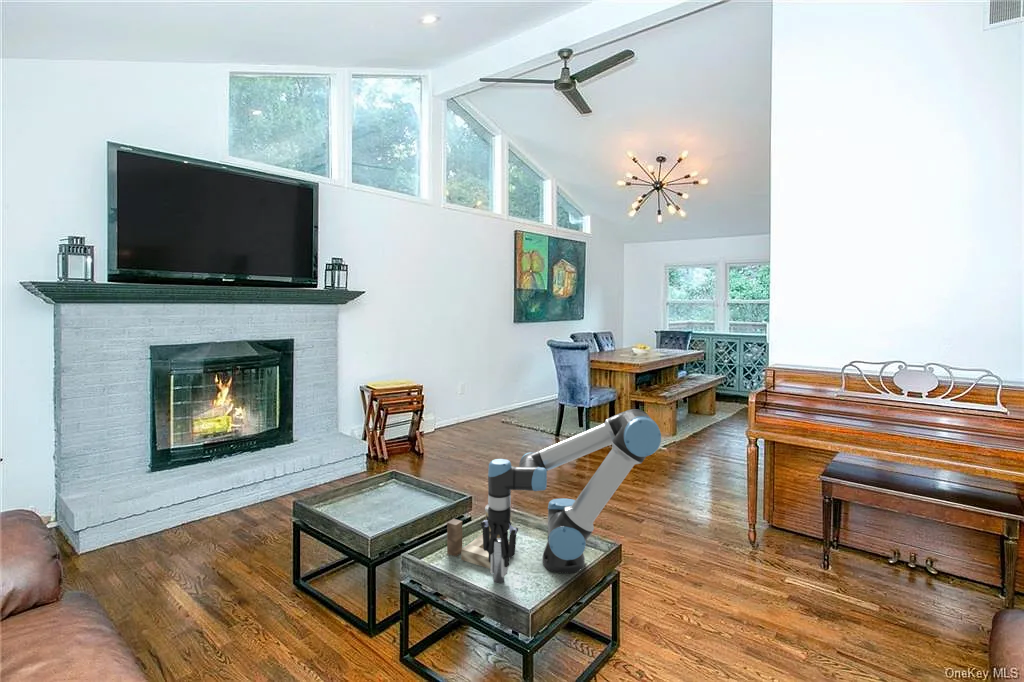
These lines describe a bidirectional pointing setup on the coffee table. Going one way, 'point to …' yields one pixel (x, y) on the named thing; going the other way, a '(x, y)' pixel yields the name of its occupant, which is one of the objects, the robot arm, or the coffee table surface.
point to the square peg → (454, 537)
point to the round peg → (498, 561)
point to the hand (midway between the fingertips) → (498, 573)
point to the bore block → (476, 553)
